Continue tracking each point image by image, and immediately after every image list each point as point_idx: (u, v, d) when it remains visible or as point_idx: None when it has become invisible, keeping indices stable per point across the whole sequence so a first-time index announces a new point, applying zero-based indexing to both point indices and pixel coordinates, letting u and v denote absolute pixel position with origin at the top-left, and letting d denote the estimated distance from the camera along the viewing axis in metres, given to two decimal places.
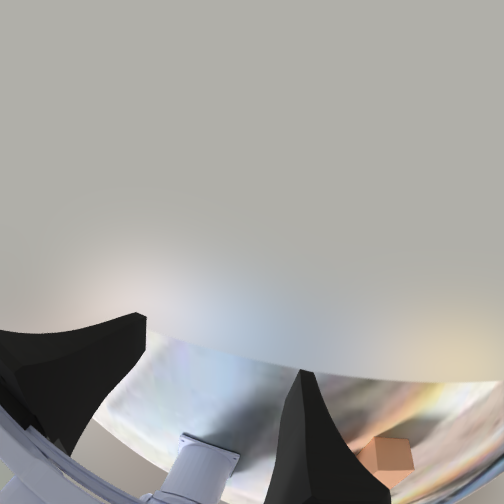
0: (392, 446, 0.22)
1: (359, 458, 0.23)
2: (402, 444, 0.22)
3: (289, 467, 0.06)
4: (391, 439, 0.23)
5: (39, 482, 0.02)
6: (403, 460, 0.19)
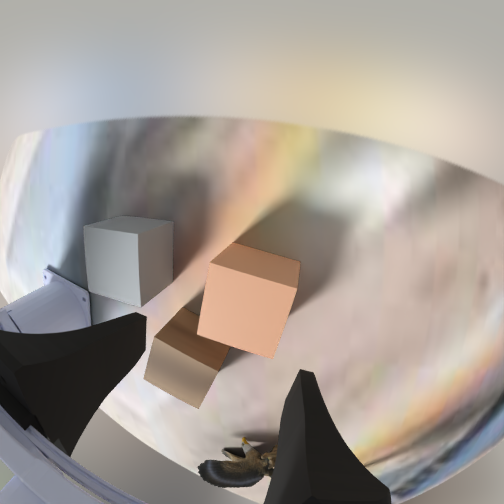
0: (262, 256, 0.18)
1: None
2: (285, 261, 0.19)
3: (289, 467, 0.06)
4: (264, 252, 0.19)
5: (39, 482, 0.02)
6: (275, 272, 0.16)
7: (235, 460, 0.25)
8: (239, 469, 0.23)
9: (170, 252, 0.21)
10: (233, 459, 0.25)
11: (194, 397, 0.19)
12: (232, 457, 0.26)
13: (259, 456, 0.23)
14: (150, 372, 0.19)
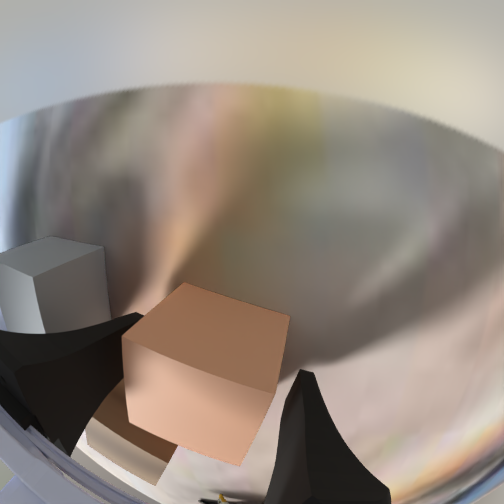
0: (224, 312, 0.11)
1: None
2: (263, 319, 0.11)
3: (289, 467, 0.06)
4: (231, 300, 0.12)
5: (39, 482, 0.02)
6: (240, 351, 0.09)
7: None
8: None
9: (102, 291, 0.13)
10: None
11: (147, 476, 0.11)
12: None
13: None
14: (92, 441, 0.11)
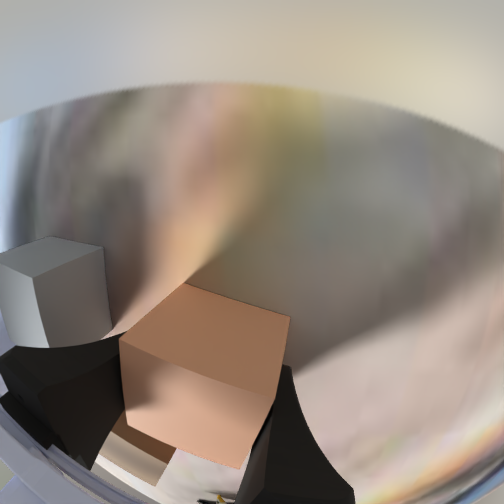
0: (223, 314, 0.11)
1: None
2: (263, 321, 0.11)
3: (256, 460, 0.06)
4: (230, 301, 0.12)
5: (39, 482, 0.02)
6: (239, 354, 0.08)
7: None
8: None
9: (102, 291, 0.13)
10: None
11: (147, 477, 0.11)
12: None
13: None
14: None
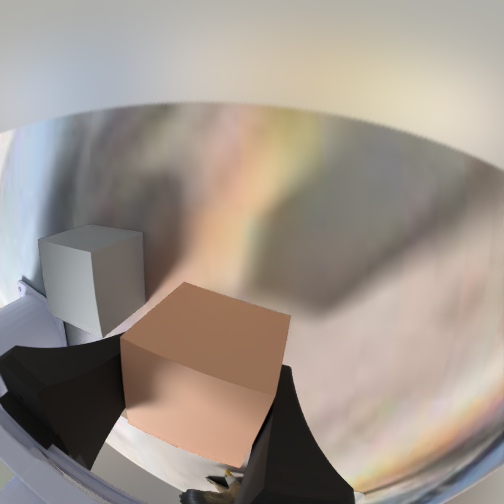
0: (224, 312, 0.11)
1: None
2: (263, 320, 0.11)
3: (256, 460, 0.06)
4: (230, 300, 0.12)
5: (39, 482, 0.02)
6: (240, 353, 0.09)
7: (219, 489, 0.22)
8: (222, 501, 0.19)
9: (140, 269, 0.17)
10: (217, 488, 0.22)
11: None
12: (216, 486, 0.22)
13: None
14: None
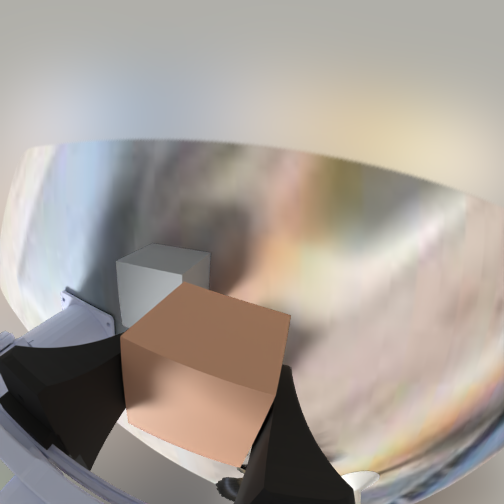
0: (224, 312, 0.11)
1: None
2: (264, 319, 0.11)
3: (256, 460, 0.06)
4: (231, 300, 0.12)
5: (39, 482, 0.02)
6: (240, 352, 0.09)
7: None
8: None
9: (207, 283, 0.21)
10: None
11: None
12: None
13: None
14: None
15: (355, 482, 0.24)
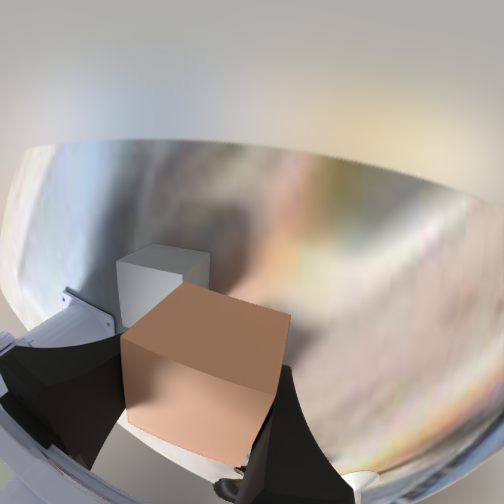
0: (224, 312, 0.11)
1: None
2: (264, 319, 0.11)
3: (256, 460, 0.06)
4: (231, 300, 0.12)
5: (39, 482, 0.02)
6: (240, 352, 0.09)
7: None
8: None
9: (207, 284, 0.21)
10: None
11: None
12: None
13: None
14: None
15: (355, 482, 0.24)
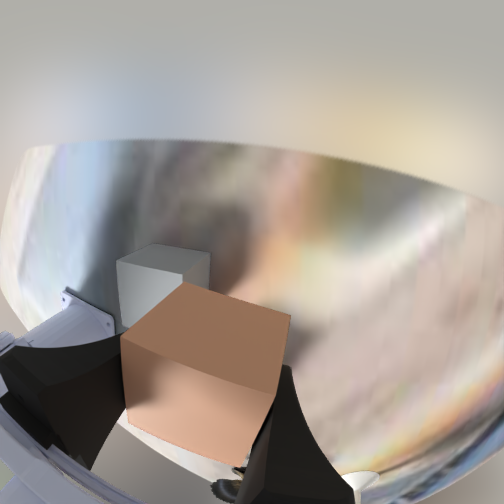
0: (224, 312, 0.11)
1: None
2: (264, 319, 0.11)
3: (256, 460, 0.06)
4: (231, 300, 0.12)
5: (39, 482, 0.02)
6: (240, 352, 0.09)
7: None
8: None
9: (207, 284, 0.21)
10: (242, 477, 0.26)
11: None
12: (241, 475, 0.27)
13: None
14: None
15: (355, 482, 0.24)
